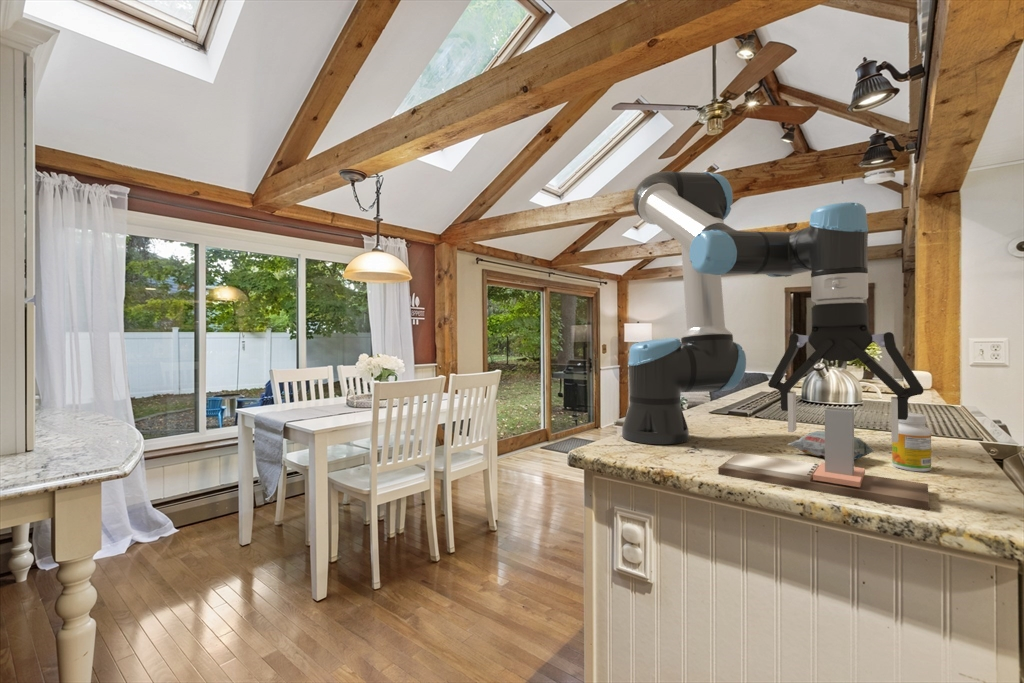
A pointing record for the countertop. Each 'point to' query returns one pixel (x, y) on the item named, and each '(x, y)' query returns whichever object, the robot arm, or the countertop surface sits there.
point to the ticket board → (802, 478)
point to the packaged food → (816, 445)
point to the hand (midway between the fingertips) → (840, 435)
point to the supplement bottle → (912, 444)
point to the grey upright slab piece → (839, 450)
